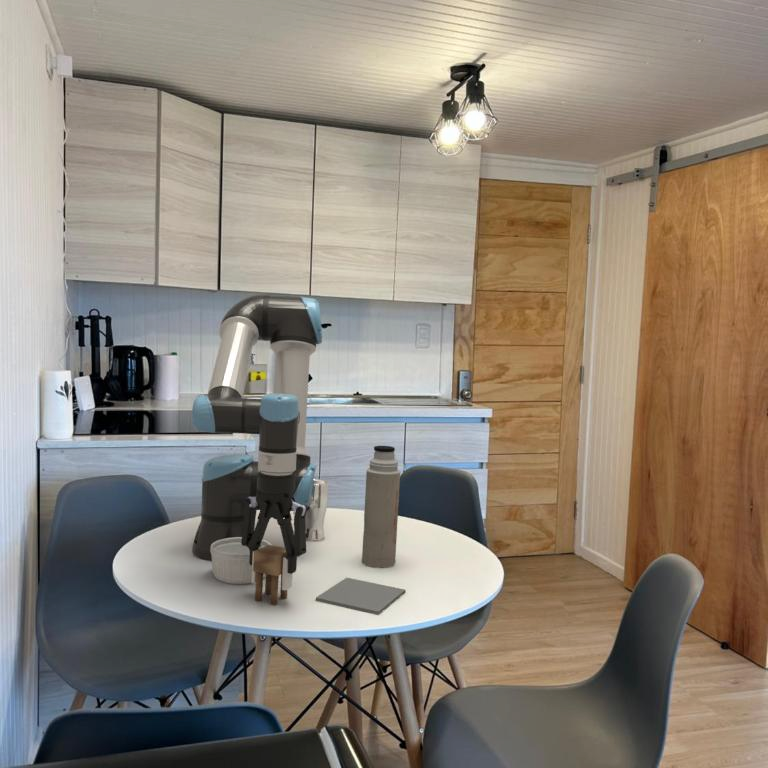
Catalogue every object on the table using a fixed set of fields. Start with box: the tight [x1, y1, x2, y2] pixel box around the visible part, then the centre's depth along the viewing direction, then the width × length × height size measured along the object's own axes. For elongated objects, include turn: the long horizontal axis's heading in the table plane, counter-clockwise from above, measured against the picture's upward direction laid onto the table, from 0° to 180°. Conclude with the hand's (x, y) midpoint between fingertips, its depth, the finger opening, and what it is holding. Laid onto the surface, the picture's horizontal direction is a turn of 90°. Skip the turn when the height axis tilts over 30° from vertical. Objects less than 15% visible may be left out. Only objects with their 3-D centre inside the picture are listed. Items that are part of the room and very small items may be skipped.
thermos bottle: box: [361, 445, 401, 568], centre depth 170 cm, size 8×8×28 cm
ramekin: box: [210, 537, 272, 585], centre depth 157 cm, size 13×13×7 cm
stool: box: [253, 544, 288, 606], centre depth 144 cm, size 6×6×10 cm
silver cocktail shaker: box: [305, 478, 329, 542], centre depth 188 cm, size 7×7×15 cm
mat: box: [315, 577, 406, 615], centre depth 148 cm, size 14×14×1 cm
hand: (271, 584), depth 144 cm, fingers open, 6 cm apart
